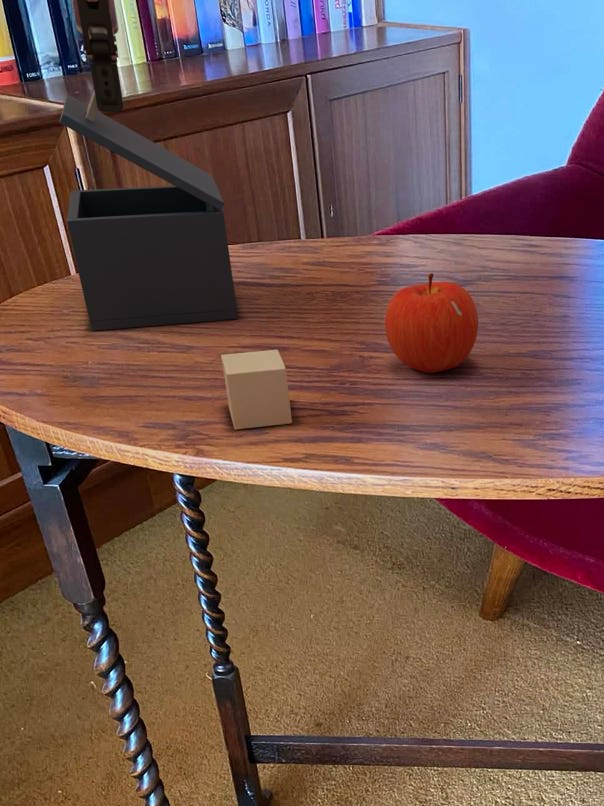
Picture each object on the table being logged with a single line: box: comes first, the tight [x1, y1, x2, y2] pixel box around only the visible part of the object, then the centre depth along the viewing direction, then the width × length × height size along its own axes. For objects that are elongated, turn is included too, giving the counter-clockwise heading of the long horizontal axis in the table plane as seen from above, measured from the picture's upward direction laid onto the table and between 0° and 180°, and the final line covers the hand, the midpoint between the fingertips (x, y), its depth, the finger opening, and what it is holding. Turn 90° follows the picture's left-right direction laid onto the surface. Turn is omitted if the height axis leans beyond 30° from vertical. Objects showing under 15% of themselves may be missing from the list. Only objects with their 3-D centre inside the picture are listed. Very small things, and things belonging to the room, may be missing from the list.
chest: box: [66, 185, 239, 332], centre depth 96 cm, size 14×14×10 cm
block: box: [220, 349, 293, 430], centre depth 74 cm, size 4×4×4 cm
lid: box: [59, 90, 225, 210], centre depth 90 cm, size 15×14×5 cm
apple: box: [384, 272, 479, 374], centre depth 83 cm, size 8×8×8 cm
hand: (110, 106), depth 88 cm, fingers closed on lid, 5 cm apart
